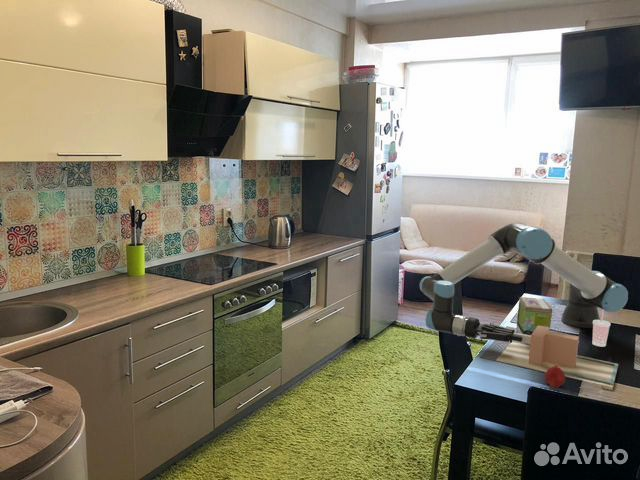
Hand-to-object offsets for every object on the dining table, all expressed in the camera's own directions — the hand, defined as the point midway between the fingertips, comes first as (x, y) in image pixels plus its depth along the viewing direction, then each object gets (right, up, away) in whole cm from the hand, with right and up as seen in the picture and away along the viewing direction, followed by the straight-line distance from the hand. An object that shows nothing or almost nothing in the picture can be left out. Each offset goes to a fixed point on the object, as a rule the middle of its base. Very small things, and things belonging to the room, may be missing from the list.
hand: (532, 340), depth 188 cm
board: (+8, -8, -2) cm, 11 cm away
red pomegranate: (-1, -11, -20) cm, 23 cm away
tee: (+6, -7, -2) cm, 10 cm away
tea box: (+9, -4, +24) cm, 26 cm away
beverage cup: (+33, -5, +18) cm, 38 cm away
